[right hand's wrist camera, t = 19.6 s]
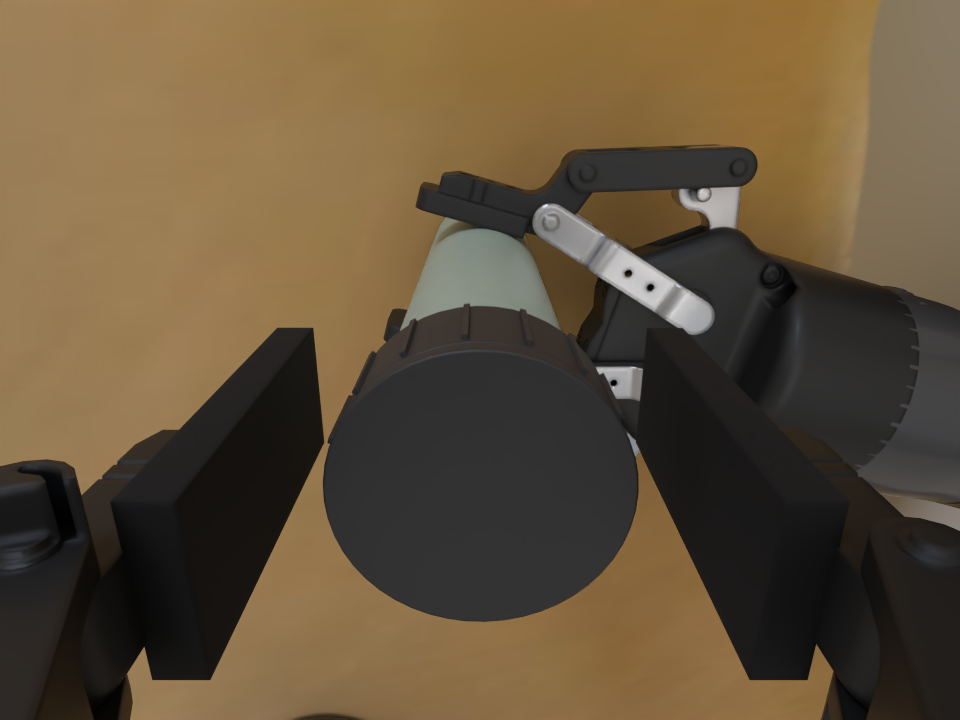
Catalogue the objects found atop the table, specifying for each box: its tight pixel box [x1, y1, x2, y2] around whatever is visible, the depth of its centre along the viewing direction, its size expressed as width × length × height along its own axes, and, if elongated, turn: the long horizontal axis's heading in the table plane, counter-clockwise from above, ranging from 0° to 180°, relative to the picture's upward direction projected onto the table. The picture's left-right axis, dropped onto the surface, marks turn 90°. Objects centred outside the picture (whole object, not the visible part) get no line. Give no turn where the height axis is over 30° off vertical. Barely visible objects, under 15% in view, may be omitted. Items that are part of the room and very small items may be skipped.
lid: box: [323, 303, 638, 622], centre depth 11 cm, size 5×5×2 cm
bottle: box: [400, 217, 561, 331], centre depth 20 cm, size 4×4×19 cm
